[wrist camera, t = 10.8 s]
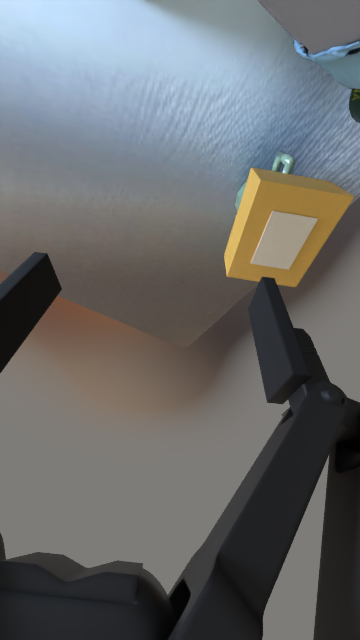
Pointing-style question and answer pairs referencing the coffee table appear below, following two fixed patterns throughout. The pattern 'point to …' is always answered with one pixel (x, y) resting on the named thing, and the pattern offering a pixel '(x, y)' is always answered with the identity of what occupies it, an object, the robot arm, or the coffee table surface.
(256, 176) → the tea packet
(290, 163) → the cup
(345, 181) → the coffee table surface
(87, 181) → the coffee table surface
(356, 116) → the beer can
